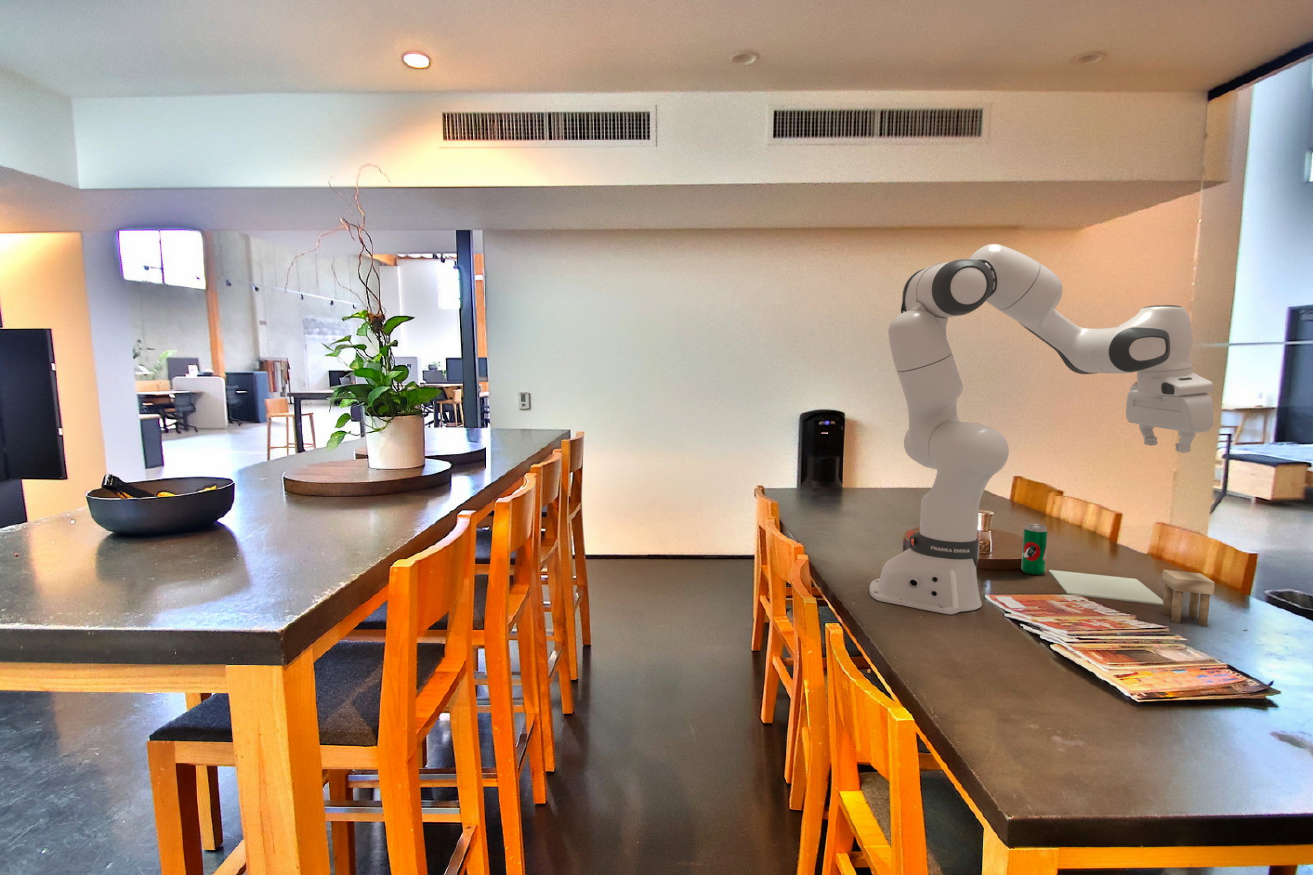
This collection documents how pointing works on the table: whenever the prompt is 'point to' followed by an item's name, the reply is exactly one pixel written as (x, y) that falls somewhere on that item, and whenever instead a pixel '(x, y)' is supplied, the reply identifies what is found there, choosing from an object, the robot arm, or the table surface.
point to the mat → (1105, 587)
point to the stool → (1195, 586)
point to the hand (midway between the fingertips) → (1166, 448)
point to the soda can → (1034, 549)
